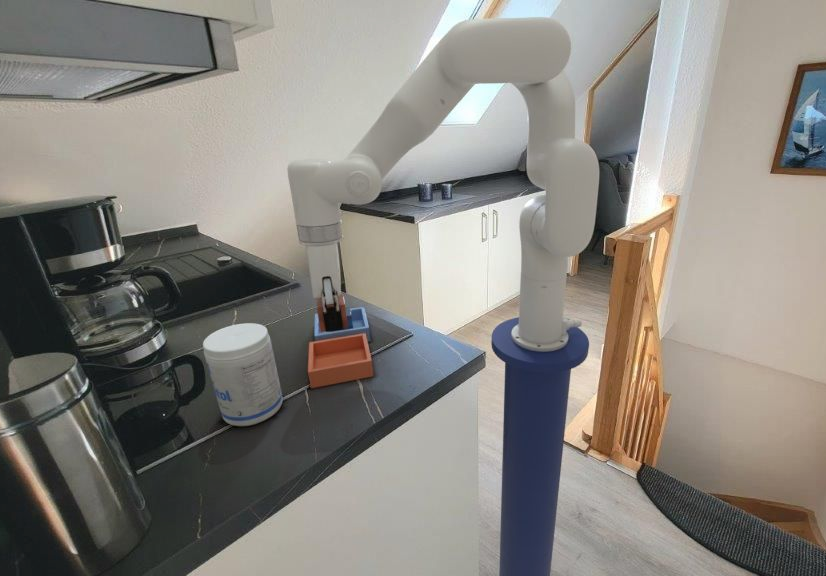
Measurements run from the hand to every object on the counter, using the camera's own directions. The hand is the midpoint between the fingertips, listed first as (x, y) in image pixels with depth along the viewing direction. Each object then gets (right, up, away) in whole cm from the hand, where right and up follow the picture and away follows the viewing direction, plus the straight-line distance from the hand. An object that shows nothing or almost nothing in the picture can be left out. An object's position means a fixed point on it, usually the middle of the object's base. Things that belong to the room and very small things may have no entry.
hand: (333, 322), depth 79 cm
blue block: (-3, -4, +16) cm, 17 cm away
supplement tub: (-11, -15, -8) cm, 20 cm away
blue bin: (-3, -4, +16) cm, 17 cm away
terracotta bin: (0, -9, +4) cm, 10 cm away
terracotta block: (0, 0, 0) cm, 0 cm away
